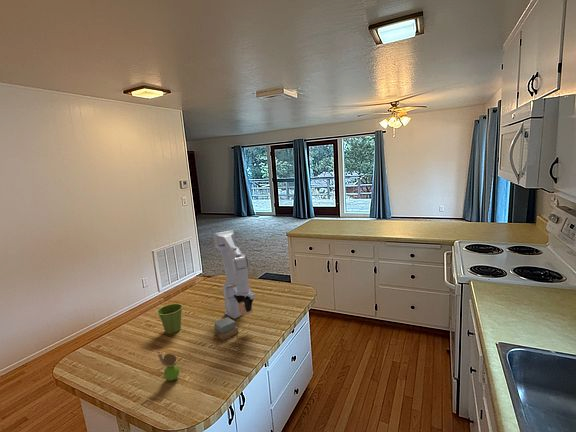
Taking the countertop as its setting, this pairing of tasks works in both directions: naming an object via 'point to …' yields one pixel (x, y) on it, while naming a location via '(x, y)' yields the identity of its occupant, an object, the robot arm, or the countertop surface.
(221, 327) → the top slab
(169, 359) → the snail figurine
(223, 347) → the countertop surface
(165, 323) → the plant pot
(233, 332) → the base slab
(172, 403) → the countertop surface
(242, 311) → the terracotta block
